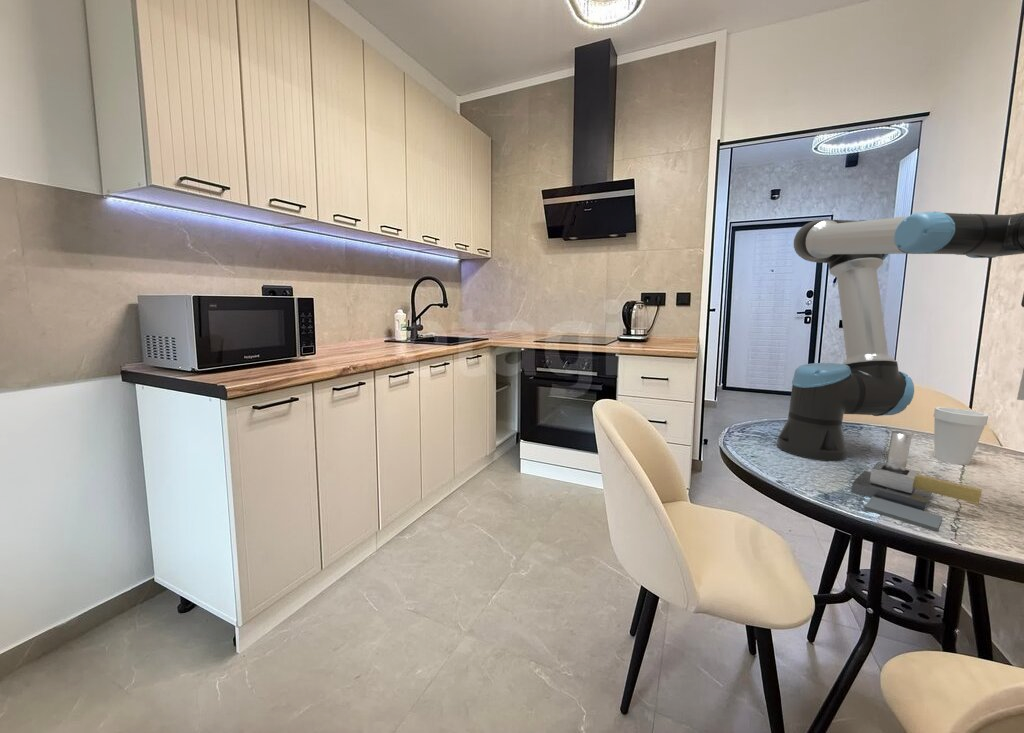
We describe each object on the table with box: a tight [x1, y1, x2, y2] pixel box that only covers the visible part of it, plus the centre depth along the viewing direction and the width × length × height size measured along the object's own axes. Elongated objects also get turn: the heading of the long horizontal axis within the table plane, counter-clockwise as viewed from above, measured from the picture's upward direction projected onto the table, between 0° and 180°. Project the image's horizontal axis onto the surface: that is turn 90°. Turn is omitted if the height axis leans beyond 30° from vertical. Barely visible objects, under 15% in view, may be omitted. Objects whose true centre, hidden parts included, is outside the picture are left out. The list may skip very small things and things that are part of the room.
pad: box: [863, 496, 944, 532], centre depth 79 cm, size 10×7×1 cm
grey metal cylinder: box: [885, 430, 913, 475], centre depth 87 cm, size 3×3×11 cm
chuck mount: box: [850, 470, 933, 511], centre depth 88 cm, size 11×11×2 cm
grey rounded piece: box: [933, 406, 989, 466], centre depth 110 cm, size 10×9×13 cm
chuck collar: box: [870, 461, 983, 505], centre depth 84 cm, size 15×6×3 cm, turn 41°
